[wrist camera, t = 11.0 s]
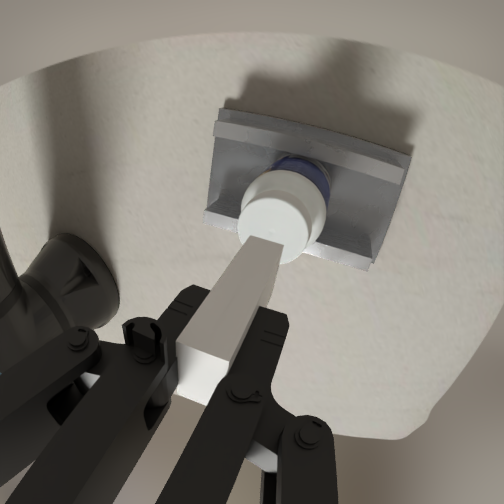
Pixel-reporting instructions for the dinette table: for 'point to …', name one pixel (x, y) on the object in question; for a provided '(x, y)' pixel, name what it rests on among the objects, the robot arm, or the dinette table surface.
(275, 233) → the pill bottle
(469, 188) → the dinette table surface
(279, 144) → the rail channel
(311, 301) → the dinette table surface
